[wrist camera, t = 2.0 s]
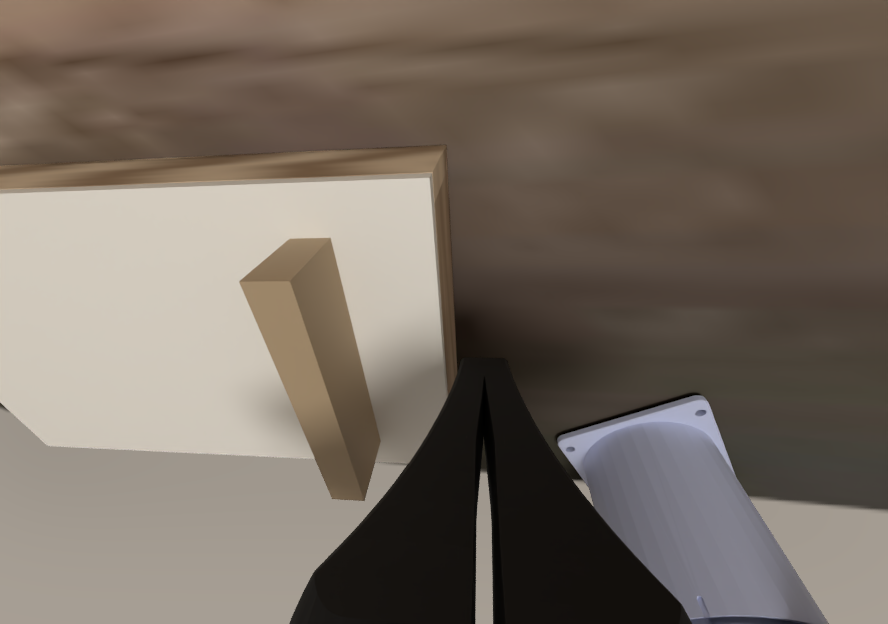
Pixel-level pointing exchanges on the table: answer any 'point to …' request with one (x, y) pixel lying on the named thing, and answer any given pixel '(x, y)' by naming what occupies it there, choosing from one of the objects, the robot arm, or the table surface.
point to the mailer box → (271, 168)
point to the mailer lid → (227, 319)
